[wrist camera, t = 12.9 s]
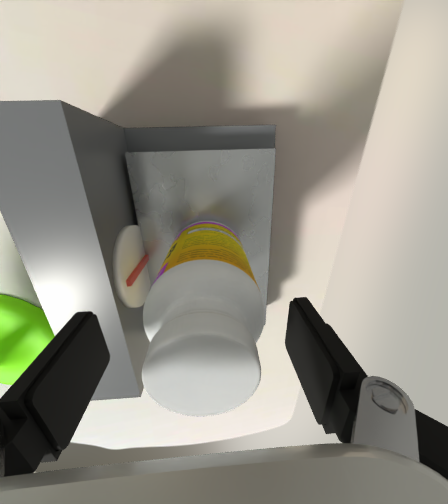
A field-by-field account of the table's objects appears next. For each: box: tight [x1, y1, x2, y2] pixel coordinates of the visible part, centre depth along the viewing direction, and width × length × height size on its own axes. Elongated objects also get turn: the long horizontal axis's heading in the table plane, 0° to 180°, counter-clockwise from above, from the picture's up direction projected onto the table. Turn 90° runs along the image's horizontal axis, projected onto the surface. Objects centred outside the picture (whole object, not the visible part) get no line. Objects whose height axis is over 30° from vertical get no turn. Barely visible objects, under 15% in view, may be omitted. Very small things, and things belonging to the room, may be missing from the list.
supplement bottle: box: [142, 221, 265, 417], centre depth 14 cm, size 7×7×13 cm
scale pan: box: [125, 148, 276, 325], centre depth 21 cm, size 18×12×1 cm, turn 2°
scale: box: [0, 100, 276, 401], centre depth 20 cm, size 22×18×11 cm
